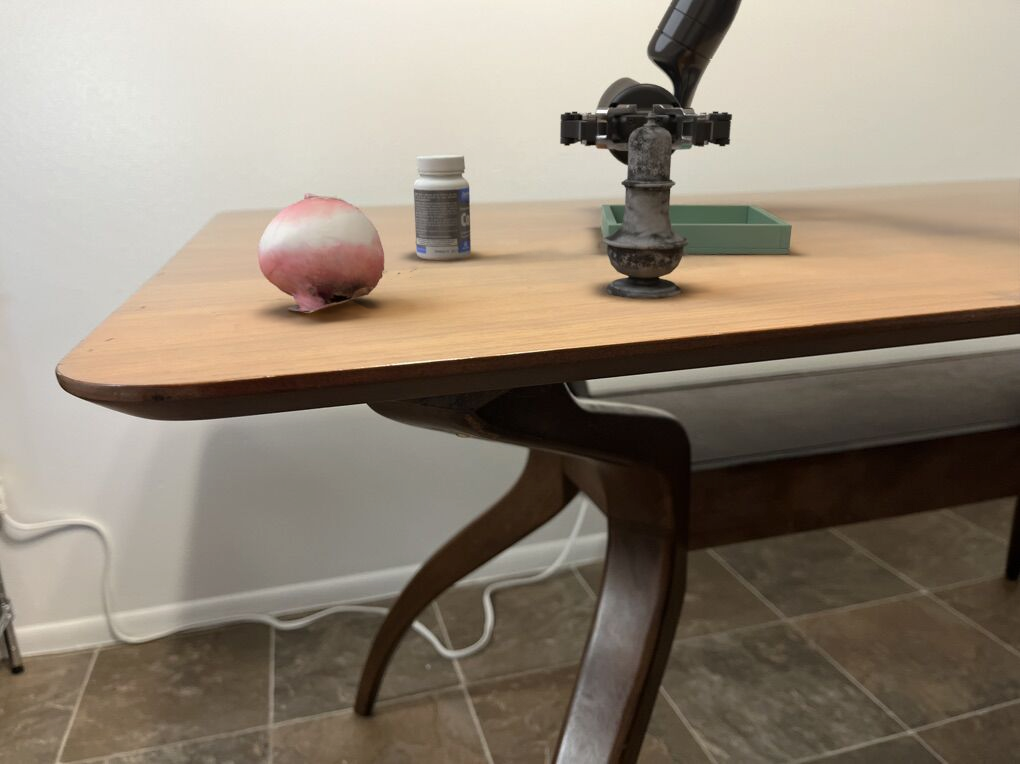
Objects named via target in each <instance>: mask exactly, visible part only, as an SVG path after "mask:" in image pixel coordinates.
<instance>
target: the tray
mask: <svg viewBox="0 0 1020 764" xmlns="http://www.w3.org/2000/svg"><path fill="white" fill-rule="evenodd" d="M600 213H601V214H600V216H601V217H600V230H601V234H602V236H603V238H604V237H605V236H608V235H612V234H614V233H615V232H616V231H618V230H619V229H620V228H621V224H622V221H623V217H624V213H625V204H601V211H600ZM669 216H670V222H671V226H672V229H673V230H674V232H675V233H677V234H678V235H679V236H682V237H685V238H687V239H688V240H689V243H688V244H687V245H686V246H684V253H683V255H789V254H790V247H791V240H792V239H791V237H792V231H793V229H792V228H793V225H792V224H790V223H789V222H787V221H785V220H784V219H781V218H780V217H778V216H776V215H775V214H772V213H770V212H769V211H767V210H765V209H764V208H762V207H759V206H757V205H756V204H670V205H669ZM603 238H602V239H603ZM604 245H605V248H606V250H607V244H605V243H604Z"/></svg>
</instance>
